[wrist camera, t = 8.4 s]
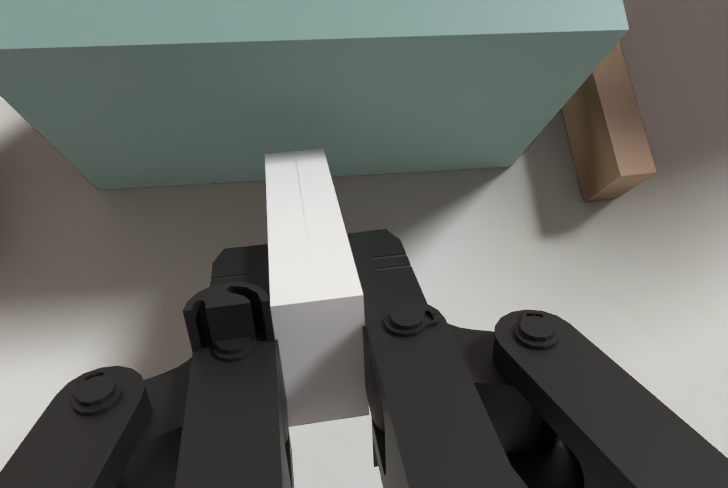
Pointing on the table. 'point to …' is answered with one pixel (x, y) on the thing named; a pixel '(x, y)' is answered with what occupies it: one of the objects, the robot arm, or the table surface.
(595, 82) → the walnut bay
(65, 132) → the muted teal t-block
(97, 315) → the table surface
